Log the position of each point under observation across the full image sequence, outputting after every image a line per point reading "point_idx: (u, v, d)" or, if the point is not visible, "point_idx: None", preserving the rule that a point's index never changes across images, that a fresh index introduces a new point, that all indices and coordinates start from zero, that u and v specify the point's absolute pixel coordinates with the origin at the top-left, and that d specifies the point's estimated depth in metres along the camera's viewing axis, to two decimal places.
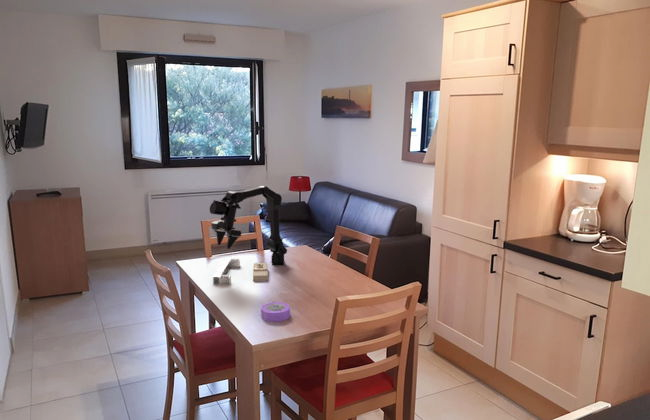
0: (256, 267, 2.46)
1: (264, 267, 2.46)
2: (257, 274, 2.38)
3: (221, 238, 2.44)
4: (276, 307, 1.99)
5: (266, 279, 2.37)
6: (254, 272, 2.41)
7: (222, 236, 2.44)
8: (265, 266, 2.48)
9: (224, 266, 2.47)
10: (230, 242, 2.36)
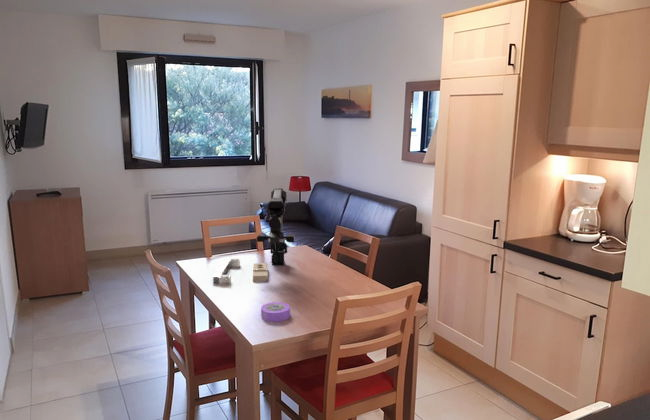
0: (256, 267, 2.45)
1: (264, 267, 2.46)
2: (257, 274, 2.37)
3: (275, 247, 2.44)
4: (276, 307, 1.99)
5: (266, 279, 2.37)
6: (254, 272, 2.40)
7: (275, 245, 2.44)
8: (265, 266, 2.47)
9: (224, 266, 2.47)
10: (278, 248, 2.43)
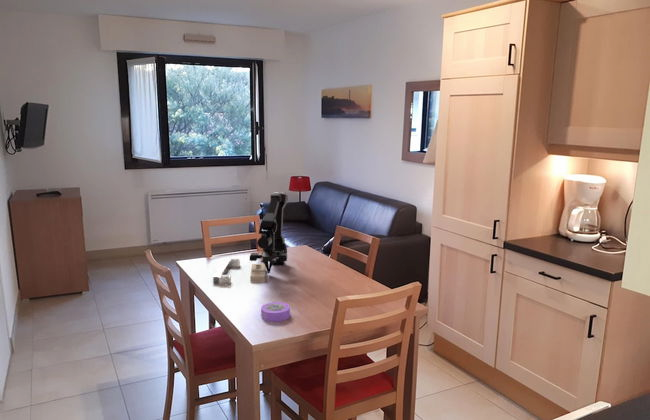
0: (254, 268, 2.45)
1: (262, 268, 2.45)
2: (254, 275, 2.37)
3: (268, 266, 2.46)
4: (276, 307, 1.99)
5: (263, 280, 2.36)
6: (252, 273, 2.40)
7: None
8: (263, 267, 2.47)
9: (224, 266, 2.47)
10: (271, 266, 2.45)
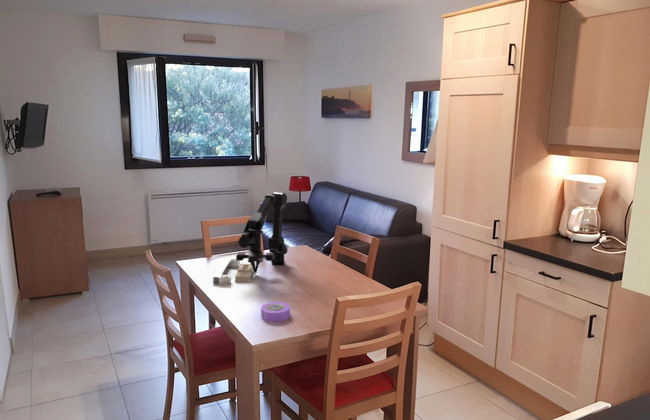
0: (241, 268, 2.45)
1: (249, 268, 2.44)
2: (240, 275, 2.36)
3: (254, 265, 2.46)
4: (276, 307, 1.99)
5: (248, 280, 2.35)
6: (237, 273, 2.40)
7: None
8: (250, 267, 2.46)
9: (224, 266, 2.47)
10: None
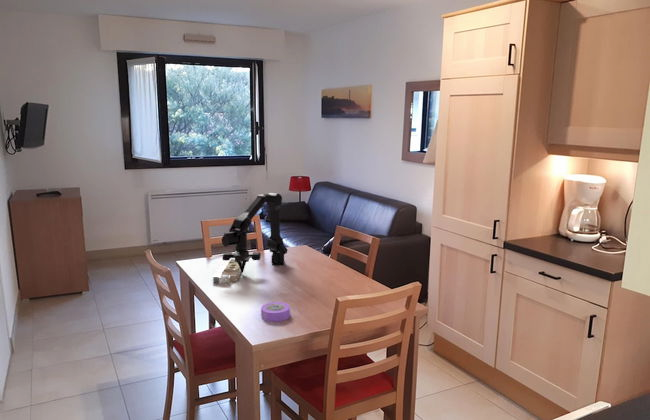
0: (228, 267, 2.44)
1: (236, 268, 2.44)
2: (226, 274, 2.36)
3: None
4: (276, 307, 1.99)
5: (234, 280, 2.35)
6: (224, 272, 2.39)
7: None
8: (237, 267, 2.46)
9: (224, 266, 2.47)
10: (244, 266, 2.45)
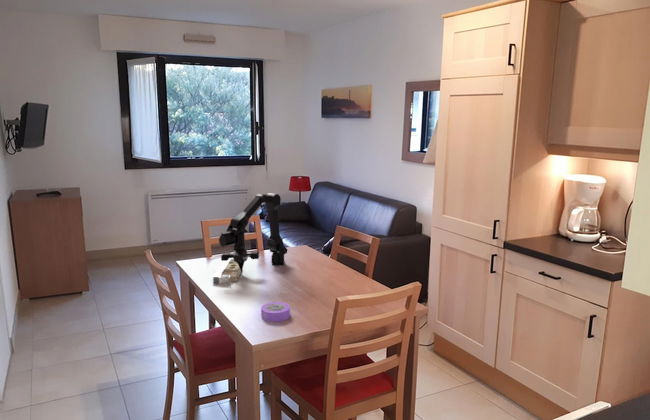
0: (228, 267, 2.44)
1: (236, 268, 2.44)
2: None
3: None
4: (276, 307, 1.99)
5: (234, 280, 2.35)
6: (224, 272, 2.39)
7: None
8: (237, 267, 2.46)
9: (224, 266, 2.47)
10: None
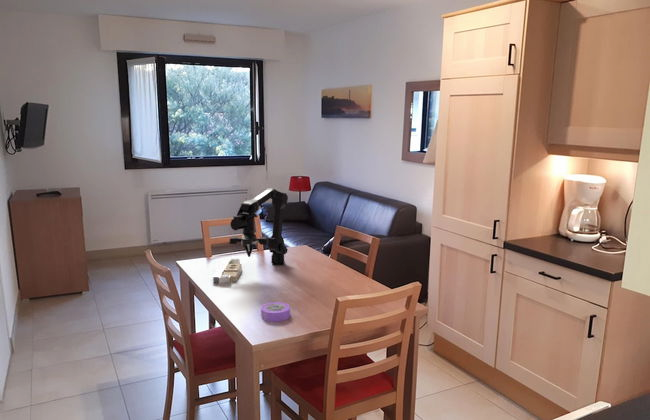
0: (228, 268, 2.44)
1: (236, 268, 2.44)
2: None
3: (248, 249, 2.44)
4: (276, 307, 1.99)
5: (234, 280, 2.35)
6: (224, 273, 2.39)
7: (248, 247, 2.44)
8: (237, 267, 2.46)
9: (224, 266, 2.47)
10: (251, 250, 2.43)
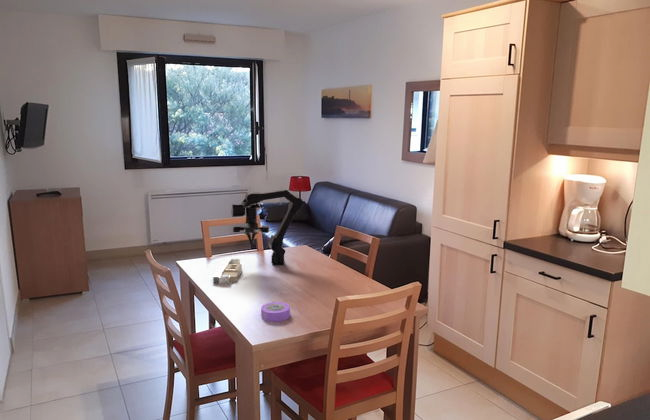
0: (228, 268, 2.44)
1: (236, 268, 2.44)
2: None
3: (251, 237, 2.58)
4: (276, 307, 1.99)
5: (234, 280, 2.34)
6: (224, 273, 2.39)
7: None
8: (237, 267, 2.45)
9: (224, 266, 2.47)
10: None
